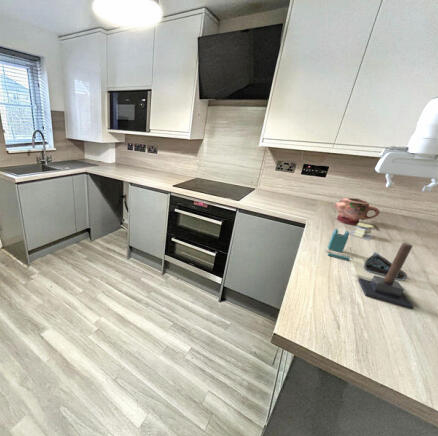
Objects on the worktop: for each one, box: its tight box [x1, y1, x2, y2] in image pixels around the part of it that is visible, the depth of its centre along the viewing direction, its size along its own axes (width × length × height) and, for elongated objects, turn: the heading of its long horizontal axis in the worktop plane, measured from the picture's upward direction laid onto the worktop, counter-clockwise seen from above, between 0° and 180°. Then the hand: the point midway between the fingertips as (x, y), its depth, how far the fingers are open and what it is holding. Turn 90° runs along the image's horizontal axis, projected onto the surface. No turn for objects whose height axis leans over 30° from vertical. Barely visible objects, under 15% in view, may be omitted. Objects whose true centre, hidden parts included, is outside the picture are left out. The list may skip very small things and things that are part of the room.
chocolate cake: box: [363, 252, 408, 282], centre depth 90 cm, size 10×7×12 cm
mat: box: [357, 277, 415, 310], centre depth 76 cm, size 11×10×1 cm
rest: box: [327, 228, 350, 261], centre depth 100 cm, size 7×10×9 cm
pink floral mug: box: [334, 197, 380, 226], centre depth 137 cm, size 20×12×14 cm, turn 47°
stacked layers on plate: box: [348, 222, 376, 241], centre depth 121 cm, size 10×9×6 cm
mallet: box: [370, 242, 413, 299], centre depth 73 cm, size 6×14×14 cm
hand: (406, 189), depth 82 cm, fingers open, 8 cm apart
